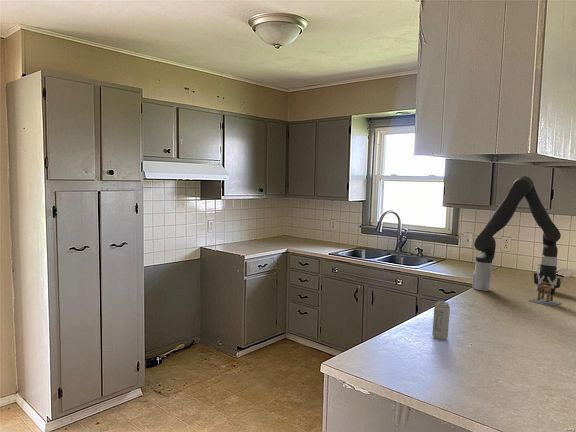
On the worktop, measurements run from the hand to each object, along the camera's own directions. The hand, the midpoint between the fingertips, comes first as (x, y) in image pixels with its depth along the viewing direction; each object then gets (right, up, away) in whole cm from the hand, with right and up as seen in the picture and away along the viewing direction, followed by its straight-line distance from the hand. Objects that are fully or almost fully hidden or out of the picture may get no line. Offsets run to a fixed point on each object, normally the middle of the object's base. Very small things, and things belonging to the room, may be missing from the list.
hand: (545, 293), depth 236 cm
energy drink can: (-82, -8, -61) cm, 102 cm away
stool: (0, -4, 0) cm, 4 cm away
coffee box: (+16, -4, +27) cm, 31 cm away
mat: (0, -5, +1) cm, 5 cm away
